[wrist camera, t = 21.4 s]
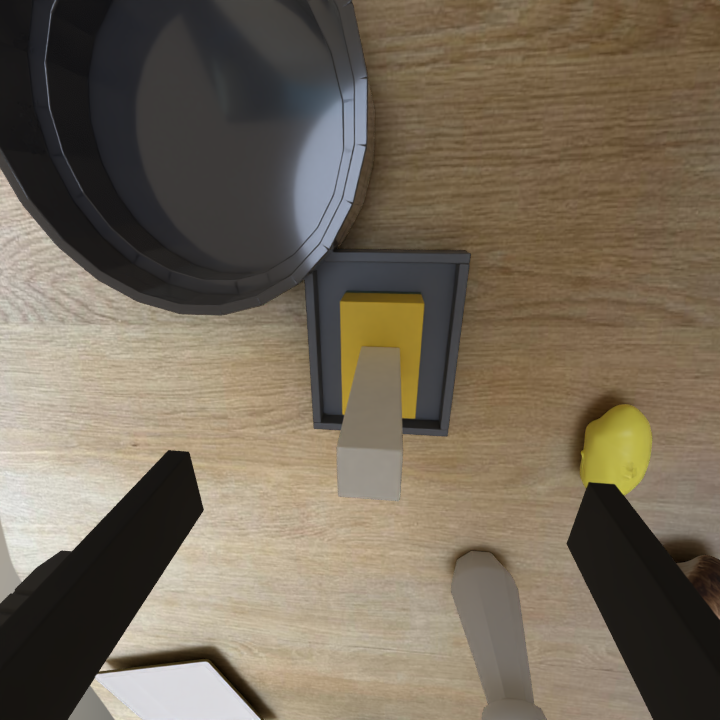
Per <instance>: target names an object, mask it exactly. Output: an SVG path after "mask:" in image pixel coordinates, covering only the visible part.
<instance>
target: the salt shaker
mask: <svg viewBox="0 0 720 720" xmlns="http://www.w3.org/2000/svg"><path fill="white" fill-rule="evenodd" d="M451 593H452V596H453V599H454V602H455V605H456V608H457V611H458V614H459V617H460V620H461V623H462V626H463V629H464V632H465V635H466V638H467V641H468V644H469V647H470V650H471V652H472V655H473V658H474V661H475V664H476V668H477V671H478V674H479V677H480V680H481V684H482V687H483V690H484V693H485V696H486V699H487V703H488V705H487V706H486V707H484V709H483V713H482V720H547V719H546V717H545V715H544V713H543V711H542V710H541V708H539V707H538V706H536V705H535V704H534V699H533V692H532V684H531V677H530V670H529V663H528V656H527V649H526V642H525V635H524V628H523V621H522V614H521V606H520V599H519V592H518V588H517V586H516V584H515V581H514V579H513V577H512V575H511V574H510V573H509V572H508V571H507V570H506V569H505V568H504V567H503V565H502V564H501V563H500V562H499V561H498V560H497V559H496V558H495V557H494V556H493V554H492V553H490V552H480V551H470V552H469V553H467V554H465V555H464V556H462V557H460V558H459V559H457V563H456V567H455V570H454V574H453V579H452V584H451Z"/></svg>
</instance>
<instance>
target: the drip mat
mask: <svg viewBox="0 0 720 720" xmlns="http://www.w3.org/2000/svg"><path fill="white" fill-rule="evenodd" d="M470 256H471V254H470V253H468V252H467V251H465V250H391V249H336V250H335V251H334V252H333V253H332V254H331V255H330V256H329V257H328V258H327V259H326V260H325V262H324V263H323V264H322V265H321V266H320V267H319V268H318V269H317V270H316V271H314V272H313V273H312V274H311V275H309V276H308V277H307V278H305V279H304V281H305V297H306V312H307V328H308V344H309V360H310V376H311V392H312V408H313V422H314V423H313V424H314V429H327V430H341V427H342V423H343V419H344V415H343V414H342V375H341V329H340V301H341V299H342V297H343V296H344V294H345V292H346V291H347V290H349V291H393V292H421V294H422V298H423V301H424V316H423V329H422V341H421V354H420V366H419V379H418V392H417V404H416V417H415V419H409V418H402V433H403V434H413V435H430V436H448V428H449V421H450V413H451V405H452V397H453V389H454V382H455V374H456V366H457V358H458V350H459V342H460V335H461V327H462V319H463V311H464V303H465V296H466V288H467V280H468V272H469V263H470Z"/></svg>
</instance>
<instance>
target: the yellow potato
mask: <svg viewBox="0 0 720 720" xmlns="http://www.w3.org/2000/svg"><path fill="white" fill-rule="evenodd" d="M651 448H652V433H651V428H650V425H649V422H648V420H647V419H646V417H645V416H644V415H643V414H642V413H641V412H640V411H639V410H638V409H637V408H635V407H634V406H632V405H628V404H622V405H617V406H615V407H613V408H611V409H610V410H609V411H607V412H606V413H605V414H604V415H603V416H602V417H601V418H599V419H597V420H594V421H592V422H591V423H589V424H588V426H587V428H586V431H585V442H584V448H583V451H581V452H580V453H581V455H582V460H581V464H580V477H581V480H582V482H583V484H584V486H585V488H587V485H588V483H589V482H593V483H606V484H615V485H616V486H617V487H618V489H619V490H620V491H621V493H622V494H623V495H626V494H628V493H629V492H630V491H631V490H633V489H634V488H635V487H636V486H637V485H638V484H639V482H640V481H641V480H642V478H643V477H644V475H645V472H646V470H647V467H648V464H649V461H650V454H651Z"/></svg>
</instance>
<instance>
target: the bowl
mask: <svg viewBox="0 0 720 720" xmlns="http://www.w3.org/2000/svg"><path fill="white" fill-rule="evenodd" d="M374 133H375V110H374V103H373V98H372V93H371V88H370V84H369V79H368V74H367V69H366V64H365V59H364V54H363V50H362V45H361V40H360V35H359V30H358V25H357V21H356V16H355V11H354V6H353V3H352V0H0V168H1V170H2V171H3V173H4V175H5V177H6V178H7V180H8V182H9V183H10V185H11V187H12V189H13V190H14V192H15V194H16V195H17V197H18V199H19V201H20V202H21V203H22V205H23V206H24V207H25V209H26V210H27V211H28V212H29V213H30V215H31V216H32V217H33V218H34V219H35V220H36V222H37V223H38V224H39V225H40V226H41V228H42V229H43V230H44V231H45V232H46V234H47V235H48V236H49V237H50V238H51V240H52V241H53V242H54V243H55V244H56V245H57V246H58V247H59V248H60V249H61V250H62V251H63V252H65V253H66V254H67V255H68V256H69V257H71V258H72V259H73V260H74V261H75V262H77V263H78V264H79V265H80V266H81V267H83V268H84V269H85V270H86V271H87V272H89V273H90V274H91V275H92V276H93V277H95V278H96V279H97V280H99V281H100V282H102V283H104V284H106V285H108V286H110V287H111V288H113V289H115V290H117V291H119V292H121V293H122V294H124V295H126V296H128V297H130V298H132V299H134V300H135V301H137V302H140V303H143V304H147V305H150V306H154V307H157V308H161V309H164V310H168V311H171V312H175V313H178V314H188V315H227V314H231V313H235V312H239V311H243V310H247V309H251V308H255V307H259V306H262V305H264V304H266V303H267V302H269V301H271V300H272V299H274V298H276V297H278V296H279V295H281V294H283V293H284V292H286V291H288V290H289V289H291V288H293V287H294V286H296V285H298V284H299V283H300V282H301V281H303V280H304V279H305V278H307V277H308V276H309V275H311V274H312V273H313V272H314V271H316V270H317V269H318V268H319V267H320V266H321V265H322V264H323V263H324V262H325V260H326V259H327V258H328V257H329V256H330V255H331V254H332V253H333V252H334V251H335V250H336V249H337V248H338V247H339V246H340V245H341V244H342V243H343V241H344V240H345V238H346V236H347V234H348V232H349V231H350V229H351V227H352V225H353V223H354V221H355V219H356V217H357V215H358V214H359V212H360V210H361V208H362V205H363V203H364V199H365V195H366V191H367V187H368V183H369V179H370V175H371V171H372V167H373V163H374V161H373V160H374Z"/></svg>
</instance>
